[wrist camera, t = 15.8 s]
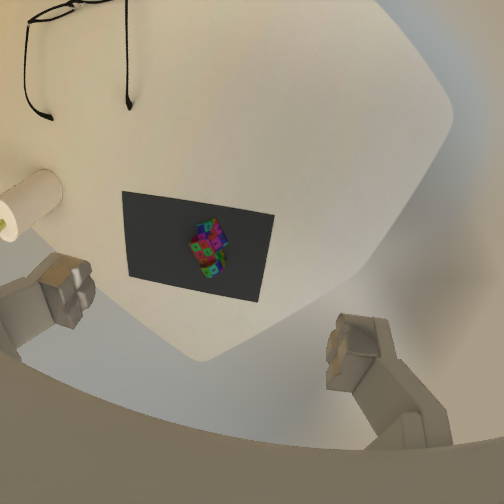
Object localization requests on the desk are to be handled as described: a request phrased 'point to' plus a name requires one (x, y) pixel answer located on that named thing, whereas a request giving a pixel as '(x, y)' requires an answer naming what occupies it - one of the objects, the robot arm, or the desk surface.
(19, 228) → the candle
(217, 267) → the block
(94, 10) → the desk surface
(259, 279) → the mat
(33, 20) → the eyeglasses
